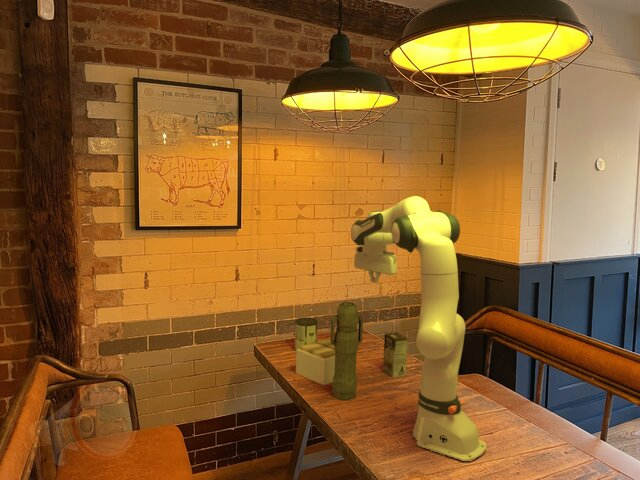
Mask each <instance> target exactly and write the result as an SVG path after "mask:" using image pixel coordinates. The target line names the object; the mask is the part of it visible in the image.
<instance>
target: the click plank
mask: <svg viewBox="0 0 640 480" xmlns="http://www.w3.org/2000/svg"><path fill="white" fill-rule="evenodd" d="M316 343H318V344H321V345H324V346H326V347H329V348H332V349H334V345H332V344H331V338H329V337H325V338H323V339H320V340H317V341H316Z"/></svg>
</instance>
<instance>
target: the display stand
mask: <svg viewBox="0 0 640 480" xmlns="http://www.w3.org/2000/svg"><path fill="white" fill-rule="evenodd" d="M295 352H296V355H295V374H297V375H300V376H302V377H305V378H306V379H309V380H310V381H313V382H315V383H318V384H319V385H322V386H326V385H328V384H331V383H333V376H334V373H335V356H333V357H330V358H327V359H323V358H320V357H318V356H315V355H313V354H310V353H308V352H305V351H302V350H300V349H297V350H296V351H295Z"/></svg>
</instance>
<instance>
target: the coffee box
mask: <svg viewBox="0 0 640 480" xmlns="http://www.w3.org/2000/svg"><path fill="white" fill-rule="evenodd" d="M383 342H384V343H383V362H382V370H383V371H384V372H385V373H387V374H388V376H391V378H394V379H395V378H399V377H406V374H407V361H408V360H407V358H408V344H409V343H408V342H409V339H408V338H407V337H405V336H404V335H402V334H401V333H400V332H398V331H396V332H388V333H387V332H385V333H384V341H383Z"/></svg>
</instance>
